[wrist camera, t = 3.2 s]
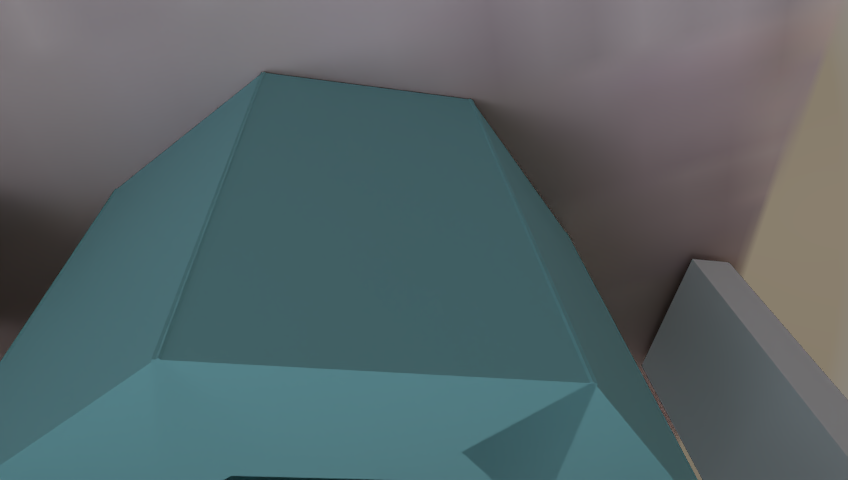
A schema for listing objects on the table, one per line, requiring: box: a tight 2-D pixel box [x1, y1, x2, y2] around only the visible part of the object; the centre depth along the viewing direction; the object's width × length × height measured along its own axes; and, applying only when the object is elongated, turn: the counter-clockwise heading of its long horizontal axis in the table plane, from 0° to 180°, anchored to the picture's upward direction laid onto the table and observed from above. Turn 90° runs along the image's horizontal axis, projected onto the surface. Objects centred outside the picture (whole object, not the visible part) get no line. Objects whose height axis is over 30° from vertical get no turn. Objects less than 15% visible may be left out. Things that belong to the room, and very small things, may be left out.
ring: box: [0, 72, 697, 480], centre depth 9 cm, size 8×8×6 cm
